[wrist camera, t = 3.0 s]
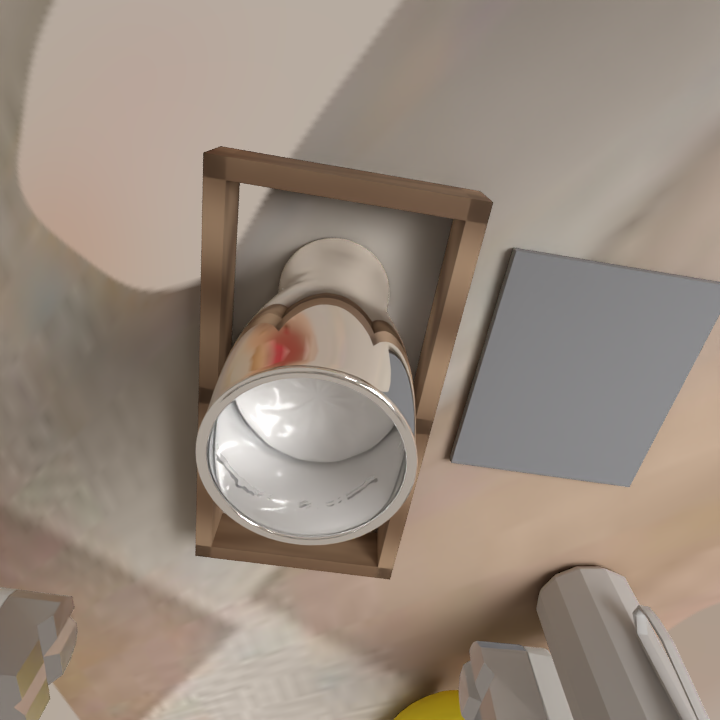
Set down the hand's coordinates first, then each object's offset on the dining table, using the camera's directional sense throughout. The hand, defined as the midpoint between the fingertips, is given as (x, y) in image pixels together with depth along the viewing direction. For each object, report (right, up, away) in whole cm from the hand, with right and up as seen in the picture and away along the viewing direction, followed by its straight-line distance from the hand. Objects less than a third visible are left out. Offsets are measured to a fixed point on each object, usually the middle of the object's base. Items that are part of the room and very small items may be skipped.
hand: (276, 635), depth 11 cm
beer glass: (0, +9, +18) cm, 20 cm away
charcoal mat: (+15, +5, +20) cm, 25 cm away
